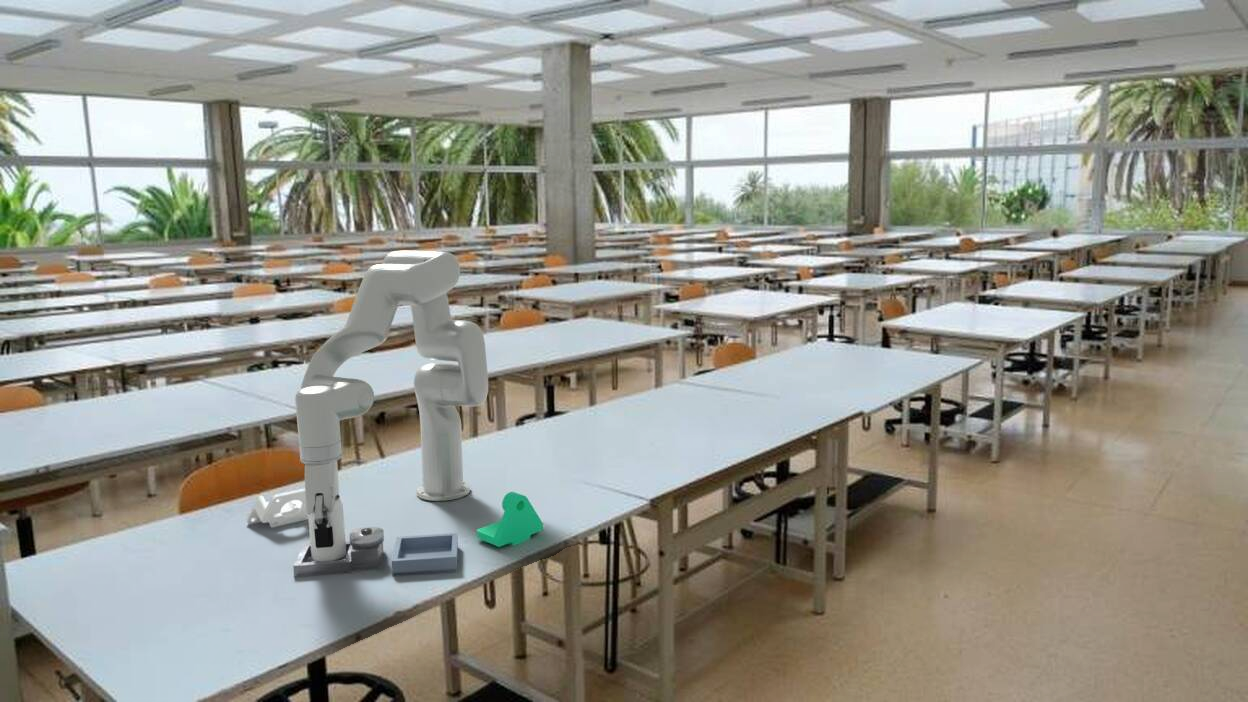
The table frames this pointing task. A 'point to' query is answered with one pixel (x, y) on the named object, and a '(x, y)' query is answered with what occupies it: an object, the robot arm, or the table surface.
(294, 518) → the mounting bracket
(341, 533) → the can
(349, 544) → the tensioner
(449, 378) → the robot arm
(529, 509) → the camera mount
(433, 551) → the tray
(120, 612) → the table surface
